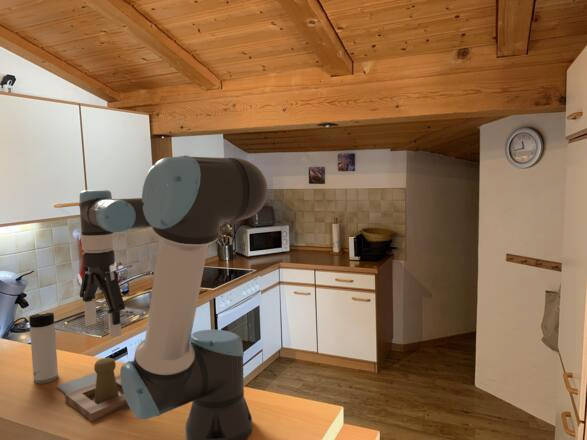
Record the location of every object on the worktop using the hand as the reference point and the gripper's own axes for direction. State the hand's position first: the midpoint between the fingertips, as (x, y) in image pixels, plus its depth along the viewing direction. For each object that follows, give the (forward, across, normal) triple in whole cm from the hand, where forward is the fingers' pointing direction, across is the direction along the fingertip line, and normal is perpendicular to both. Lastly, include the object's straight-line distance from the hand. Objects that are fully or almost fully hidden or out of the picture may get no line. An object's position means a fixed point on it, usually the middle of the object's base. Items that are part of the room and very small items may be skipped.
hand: (102, 330), depth 114 cm
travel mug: (+19, +25, +6) cm, 32 cm away
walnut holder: (+19, 0, 0) cm, 19 cm away
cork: (+19, 0, 0) cm, 19 cm away
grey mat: (+19, +13, 0) cm, 23 cm away
